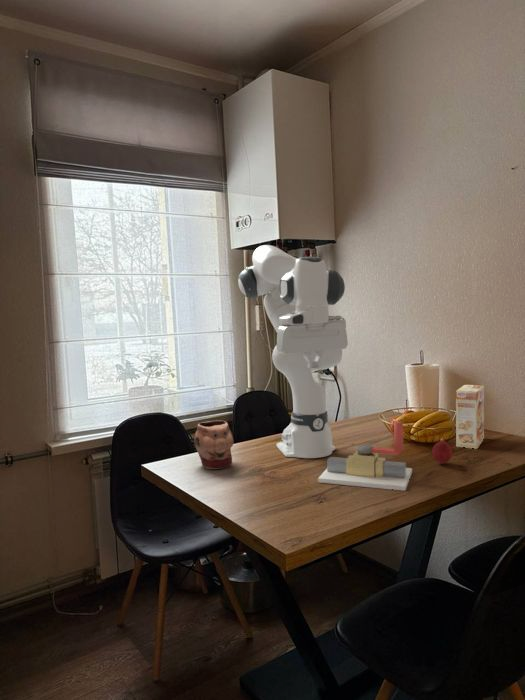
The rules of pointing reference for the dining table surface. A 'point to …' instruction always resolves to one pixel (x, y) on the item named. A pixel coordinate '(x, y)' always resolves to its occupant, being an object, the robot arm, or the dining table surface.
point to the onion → (442, 451)
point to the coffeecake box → (470, 416)
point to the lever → (397, 448)
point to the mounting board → (366, 480)
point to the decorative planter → (214, 444)
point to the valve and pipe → (366, 466)
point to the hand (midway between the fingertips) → (313, 367)
